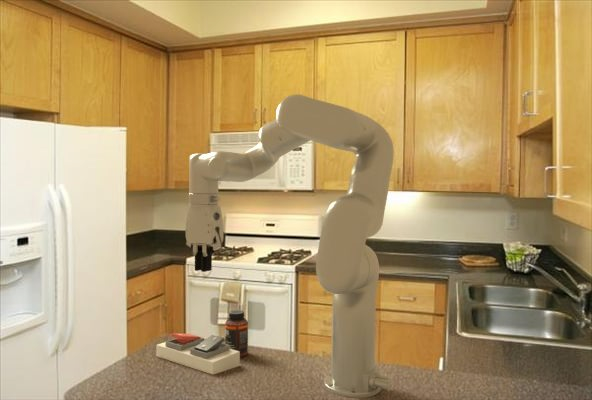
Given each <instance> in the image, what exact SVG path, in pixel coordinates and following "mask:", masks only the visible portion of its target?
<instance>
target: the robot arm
mask: <svg viewBox="0 0 592 400" xmlns="http://www.w3.org/2000/svg"><path fill="white" fill-rule="evenodd" d="M275 115H276V116H275V117H276V118H274V119H272V120H270V121H269V122H268V123H266V124H264V125H262V126H261V128H260V129H259V131H258V137H259V141H260V142H259V143H258V144H257V145H255V146H254V147H252V148H250V149H249V150H247V151H245V152H243V153H239V152H233V151H232V152H231V151H222V150H219V151H213V152H209V153H205V152H204V153H202V152H201V153H200V152H199V153H194V154H191V155H190V156H189V161H188V162H189V166H188V167H189V170H188V171H189V172H188V173H189V178H188V183H189V184H188V186H189V189H188V190H189V191H188V193H189V195H188V201H189V202H188V206H187V211H186V219H185V239H186V241H185V242H186V243H185V245H186V246H188V247H189V248H190V249H191V250H192V255H193V256H194V271H197V272H198V271H201V272H203V273H204V272H211V271H212V269H213V266H212V265H213V264H212V263H213V262H212V261H213V260H212V259H213V257H212V256H214V254H215V252H216V251H217V250H219V249H222V244H223V242H224V221H223V213H222V208H221V206H219V202H220V200H221V199H220V197H219V182H228V183H229V182H230V183H231V182H233V183H243V182H247V181H250V180H252V179H254V178H256V177H258V176H260V175H262V174H264V173H266V172H268V171H269V170H270V169H272V167H274V166H275V164H276V163H277V162H279V159H280V158H281V157H283V156H285V155H286V154H289V153H290V152H292V151H294V150H295V149H297V148H299V147H301V146H303V145H305V144H307V143H308V142H310V141H312V142H314V143H318V144H321V145H324V146H327V147H329V148H333V149H337V150H340V151H345V152H351V153H353V154H355V161H354V163H353V165H352V168H351V171H350V176H349V183H348V188H347V192H346V194H344V195H341V196H339V197H337V198H335V199H334V200H333V201H332V202H331V203H330V204H329V206H328V207H327V210H326V212H325V214H324V216H323V221H322V227H321V230H320V231H321V232H320V238H319V244H318V249H317V255H316V263H315V272H316V278H317V280H318V282H319V284H320V286H321V287H322V288H323V289H324V290H326V291H327V292H328V293H330V294H332V303H331V357H330V358H331V360H330V362H331V366H330V373H329V374H327V375H326V376H325V377H324V378H323V386H324V388H325V389H326V390H327V391H328V392H330V393H333V394H335V395H338V396H343V397H347V398H356V399H358V398H359V399H362V398H370V397H374V396H376V395H378V394H379V393H380V392H381V391H382V390H385V391H391V389H392V381H391V377H389V376H385V375H381V373H380V367H379V366H376V365H375V364H376V363H375V361H376V359H375V358H376V316H377V315H376V313H377V312H376V311H377V308H376V307H377V292H378V284H379V275H380V264H379V259H378V256H377V254H376V253H375V251H374V250H373V249H372V248H371V247H370V246H368V245H367V244H366V242H367V238H368V239H369V238H372V237H373V236H375V235H377V234H378V232H379V231H380V230H381V229H382V226H383V223H384V216H385V211H386V205H387V200H388V194H389V193H388V192H389V187H390V181H391V174H392V170H393V165H394V157H395V156H394V154H395V151H394V150H395V149H394V144H393V141H392V138H391V135H390V134H389V132H388V131H387V130H386V128H384V126H383V125H381V124H380V123H379V122H377V121H375V120H374V119H373V118H372V117H369V116H367V115H365V114H362V113H360V112H358V111H355V110H353V109H351V108H348V107H344V106H341V105H339V104H334V103H330V102H327V101H323V100H319V99H315V98H313V97H309V96H306V95H303V94H292V95H288V96H286V97H285V98H284V99H283V100H282V101H281V102H280V103H279V104H278V106H277V108H276V114H275Z"/></svg>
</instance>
